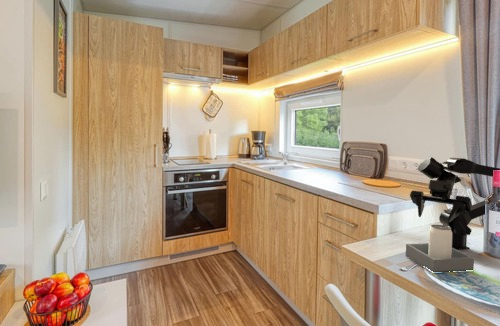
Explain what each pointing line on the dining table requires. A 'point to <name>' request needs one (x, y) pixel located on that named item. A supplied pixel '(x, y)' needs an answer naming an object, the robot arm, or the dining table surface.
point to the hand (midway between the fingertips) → (433, 219)
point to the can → (440, 242)
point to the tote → (454, 263)
